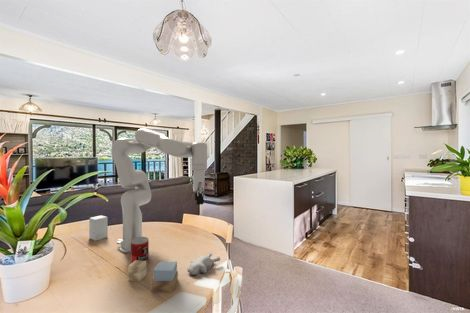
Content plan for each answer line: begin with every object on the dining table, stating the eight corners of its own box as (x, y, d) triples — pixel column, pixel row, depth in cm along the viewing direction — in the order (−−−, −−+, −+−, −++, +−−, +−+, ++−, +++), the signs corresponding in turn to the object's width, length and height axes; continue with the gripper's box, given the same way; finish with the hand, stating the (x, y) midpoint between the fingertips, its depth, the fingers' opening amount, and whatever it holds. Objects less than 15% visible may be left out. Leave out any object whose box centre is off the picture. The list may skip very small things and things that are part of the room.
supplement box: (108, 237, 139) (108, 216, 139) (95, 241, 133) (95, 219, 133) (101, 234, 143) (101, 214, 143) (88, 238, 137) (88, 217, 137)
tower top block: (153, 281, 85) (153, 270, 85) (159, 271, 92) (159, 261, 92) (172, 281, 85) (172, 270, 85) (176, 271, 92) (176, 261, 92)
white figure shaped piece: (182, 263, 99) (207, 248, 110) (183, 274, 99) (208, 258, 111) (197, 270, 93) (222, 253, 104) (198, 281, 93) (222, 264, 105)
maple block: (128, 280, 92) (128, 265, 92) (135, 274, 97) (135, 260, 97) (139, 281, 91) (139, 266, 91) (146, 275, 96) (146, 260, 96)
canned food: (137, 268, 101) (137, 244, 101) (127, 263, 106) (127, 240, 106) (152, 261, 108) (152, 238, 108) (141, 257, 112) (141, 235, 112)
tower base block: (151, 293, 84) (151, 282, 84) (157, 281, 92) (157, 271, 92) (173, 292, 84) (173, 282, 84) (177, 280, 92) (177, 271, 92)
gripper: (190, 166, 119) (190, 199, 119) (192, 168, 102) (192, 206, 102) (204, 166, 121) (204, 198, 121) (209, 168, 104) (208, 205, 104)
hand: (199, 202), depth 112 cm, fingers open, 9 cm apart
